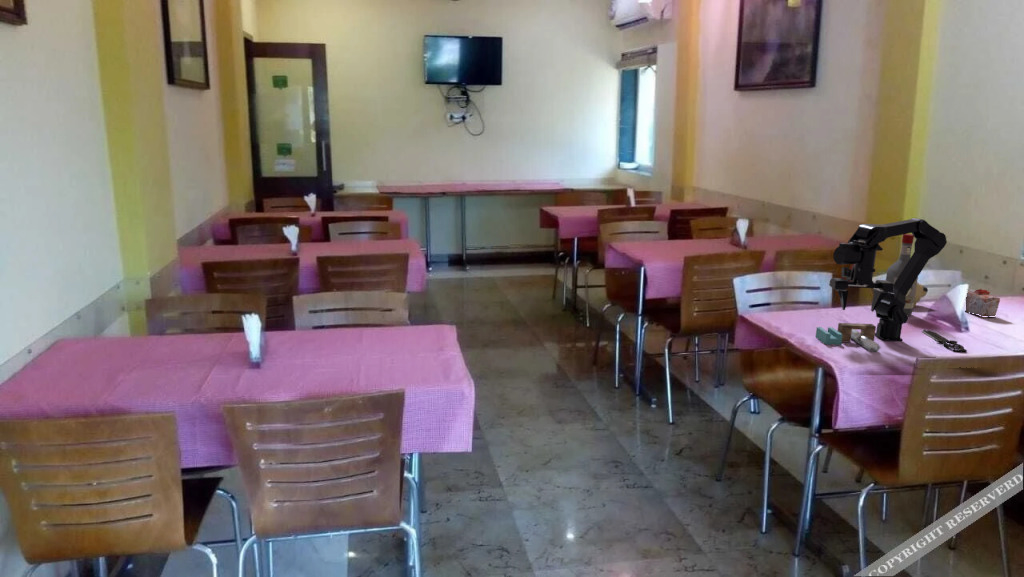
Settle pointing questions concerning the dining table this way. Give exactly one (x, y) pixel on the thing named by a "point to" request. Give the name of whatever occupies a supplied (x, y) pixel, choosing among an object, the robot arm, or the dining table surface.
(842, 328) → the wooden bridge block
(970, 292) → the food item
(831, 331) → the cradle
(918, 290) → the tan rounded piece
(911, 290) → the liquor
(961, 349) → the knife
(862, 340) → the axle
